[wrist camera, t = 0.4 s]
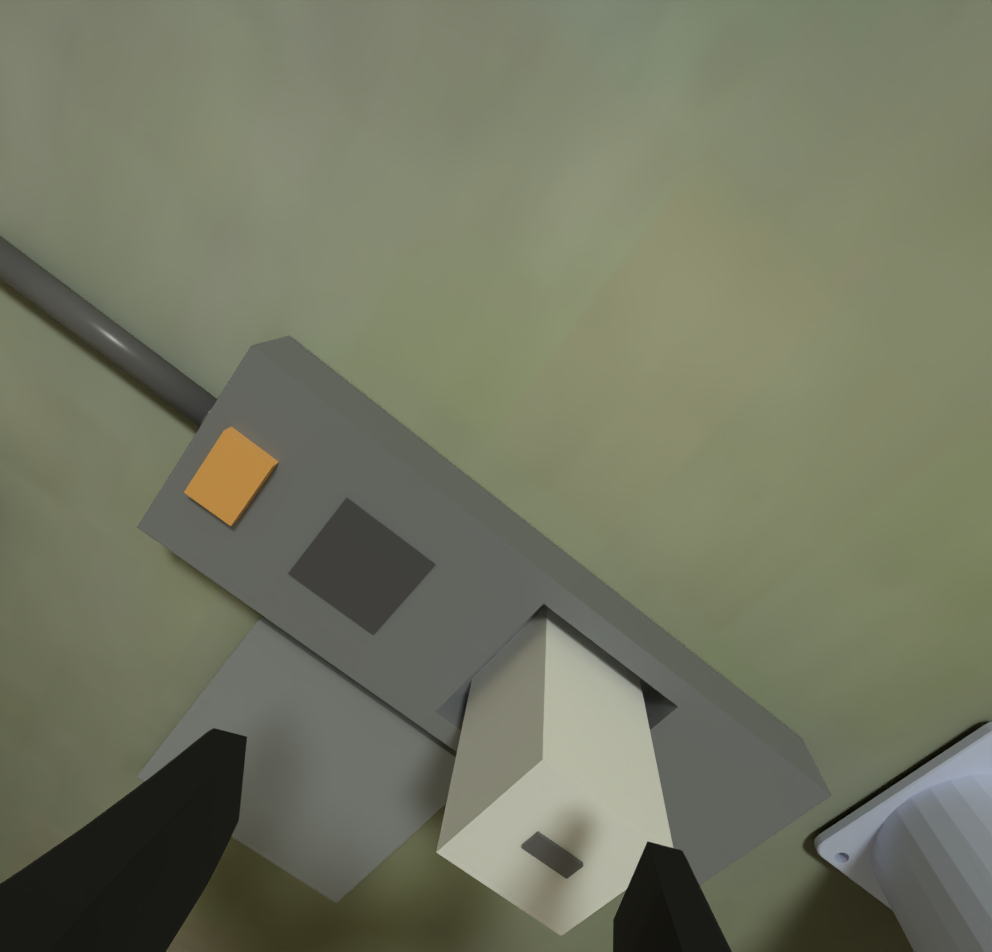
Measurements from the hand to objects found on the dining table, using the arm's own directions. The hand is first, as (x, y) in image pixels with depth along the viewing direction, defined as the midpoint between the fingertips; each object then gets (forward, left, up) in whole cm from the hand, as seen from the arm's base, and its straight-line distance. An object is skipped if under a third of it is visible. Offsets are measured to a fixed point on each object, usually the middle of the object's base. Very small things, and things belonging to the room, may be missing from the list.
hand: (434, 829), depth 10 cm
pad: (0, +12, -10) cm, 16 cm away
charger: (-4, +2, -9) cm, 10 cm away
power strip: (+3, +2, -10) cm, 11 cm away
